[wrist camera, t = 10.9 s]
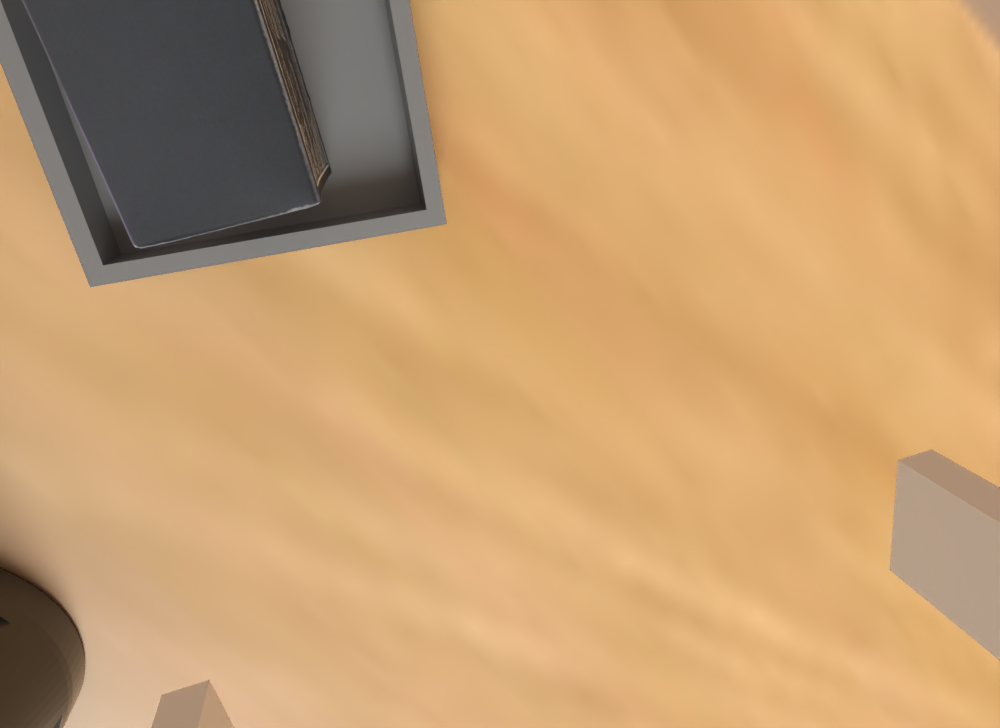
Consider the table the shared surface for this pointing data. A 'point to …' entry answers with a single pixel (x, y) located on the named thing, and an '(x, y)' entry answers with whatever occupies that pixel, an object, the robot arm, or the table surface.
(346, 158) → the tray
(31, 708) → the robot arm
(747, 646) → the table surface
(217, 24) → the small box
